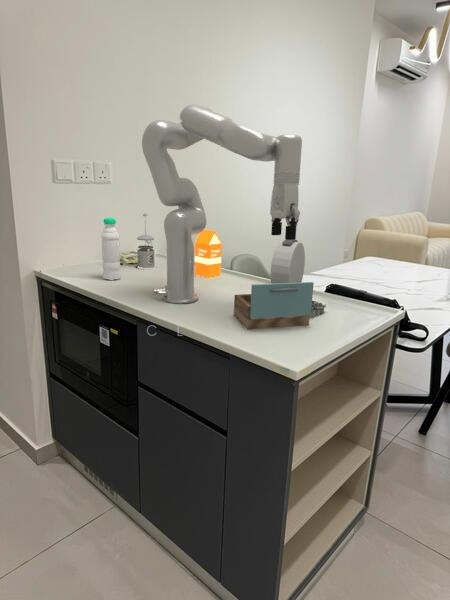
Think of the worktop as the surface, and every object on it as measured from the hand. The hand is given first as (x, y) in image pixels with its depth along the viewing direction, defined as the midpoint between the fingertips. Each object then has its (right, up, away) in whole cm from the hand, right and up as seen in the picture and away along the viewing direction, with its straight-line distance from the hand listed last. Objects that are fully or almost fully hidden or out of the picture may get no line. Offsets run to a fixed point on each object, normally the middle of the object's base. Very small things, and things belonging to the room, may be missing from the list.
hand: (283, 237), depth 136 cm
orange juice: (-25, -9, +60) cm, 66 cm away
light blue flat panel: (-1, -24, -5) cm, 25 cm away
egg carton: (+10, -24, +12) cm, 29 cm away
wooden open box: (-3, -26, +2) cm, 26 cm away
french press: (-55, -4, +74) cm, 92 cm away
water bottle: (-65, -11, +49) cm, 82 cm away
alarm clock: (+7, -15, +43) cm, 46 cm away
